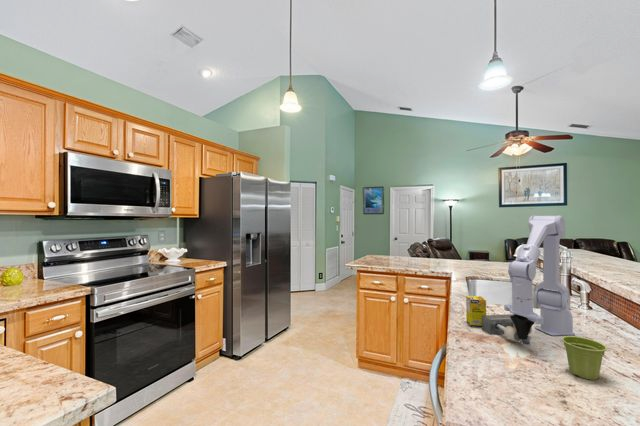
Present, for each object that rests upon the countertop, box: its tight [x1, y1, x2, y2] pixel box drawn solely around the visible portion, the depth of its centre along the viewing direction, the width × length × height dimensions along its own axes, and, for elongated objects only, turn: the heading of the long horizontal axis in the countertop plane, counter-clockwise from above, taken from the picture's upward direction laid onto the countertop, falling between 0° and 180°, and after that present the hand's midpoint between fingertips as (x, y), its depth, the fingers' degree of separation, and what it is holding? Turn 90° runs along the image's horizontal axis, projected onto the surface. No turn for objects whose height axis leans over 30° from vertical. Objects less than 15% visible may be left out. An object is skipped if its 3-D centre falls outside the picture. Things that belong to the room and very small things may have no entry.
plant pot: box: [561, 335, 608, 380], centre depth 83 cm, size 9×9×9 cm
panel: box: [481, 313, 514, 336], centre depth 115 cm, size 14×5×6 cm, turn 96°
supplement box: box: [465, 295, 487, 329], centre depth 122 cm, size 6×6×11 cm
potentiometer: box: [519, 335, 531, 345], centre depth 104 cm, size 4×3×4 cm
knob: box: [495, 323, 522, 343], centre depth 108 cm, size 4×10×4 cm, turn 6°
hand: (522, 338), depth 100 cm, fingers closed
